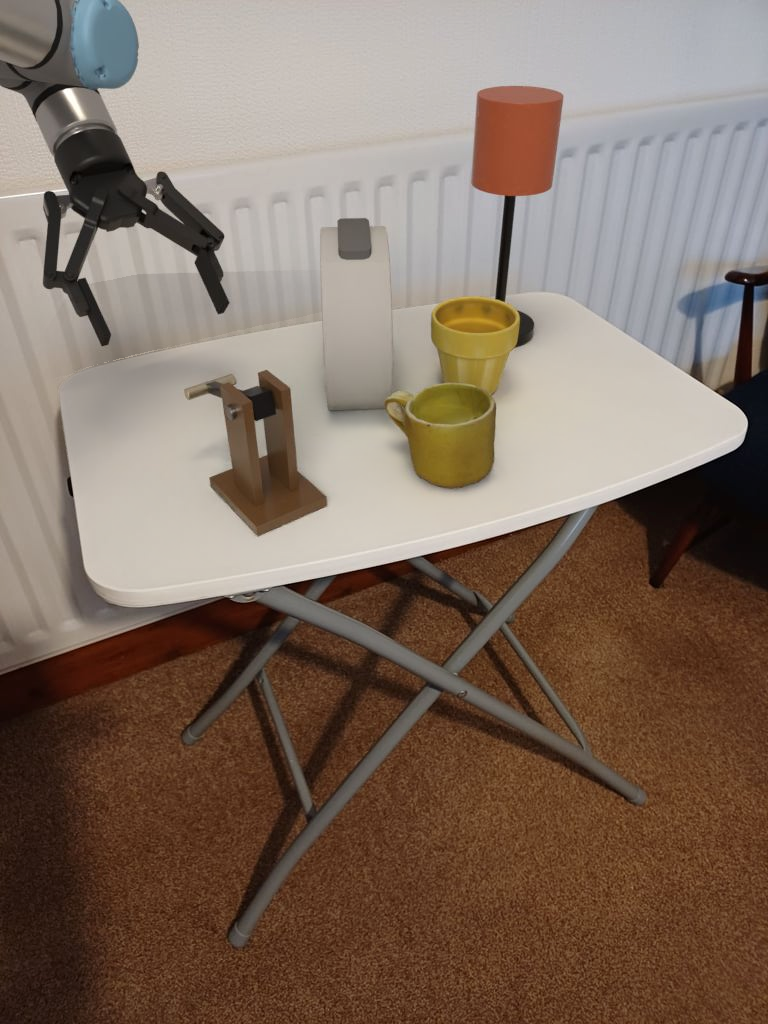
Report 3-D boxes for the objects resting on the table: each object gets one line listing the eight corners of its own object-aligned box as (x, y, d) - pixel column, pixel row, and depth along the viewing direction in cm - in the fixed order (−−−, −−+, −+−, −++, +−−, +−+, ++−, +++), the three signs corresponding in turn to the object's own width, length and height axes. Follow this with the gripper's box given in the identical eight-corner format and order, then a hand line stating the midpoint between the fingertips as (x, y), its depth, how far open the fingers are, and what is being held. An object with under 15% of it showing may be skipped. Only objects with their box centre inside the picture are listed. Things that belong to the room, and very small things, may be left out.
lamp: (466, 349, 106) (484, 104, 87) (456, 317, 114) (471, 86, 95) (539, 347, 106) (573, 103, 88) (525, 316, 114) (552, 85, 95)
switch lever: (187, 404, 82) (180, 382, 81) (234, 388, 84) (228, 367, 83) (240, 427, 72) (233, 402, 71) (291, 408, 74) (286, 384, 73)
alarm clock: (328, 344, 107) (320, 194, 95) (382, 343, 107) (382, 193, 95) (327, 428, 90) (318, 260, 78) (392, 426, 91) (393, 258, 78)
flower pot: (455, 416, 93) (461, 340, 86) (413, 378, 100) (415, 305, 94) (528, 396, 96) (538, 321, 90) (482, 360, 103) (488, 289, 97)
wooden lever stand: (210, 486, 82) (191, 377, 74) (276, 460, 85) (265, 354, 77) (257, 536, 76) (242, 423, 68) (327, 506, 79) (320, 395, 71)
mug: (530, 449, 84) (505, 375, 77) (470, 514, 80) (440, 442, 74) (447, 424, 92) (419, 355, 86) (390, 481, 88) (356, 414, 82)
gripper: (185, 150, 94) (259, 310, 94) (-33, 186, 83) (50, 368, 83) (198, 109, 88) (277, 281, 88) (-37, 142, 76) (53, 341, 76)
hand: (167, 324), depth 85 cm, fingers open, 13 cm apart
